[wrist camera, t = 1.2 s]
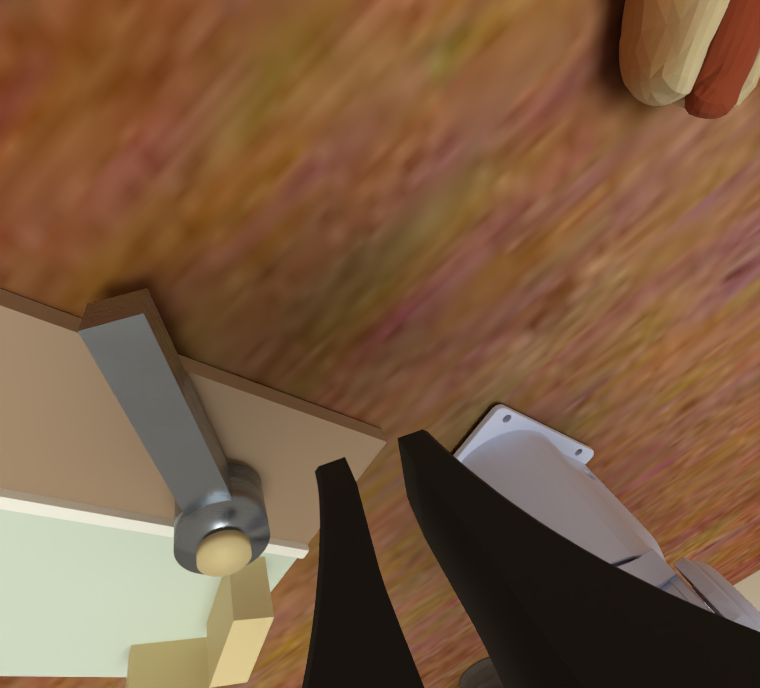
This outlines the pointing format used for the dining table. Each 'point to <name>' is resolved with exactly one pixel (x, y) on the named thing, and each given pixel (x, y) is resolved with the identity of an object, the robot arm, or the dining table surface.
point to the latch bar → (173, 425)
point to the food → (691, 53)
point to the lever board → (140, 516)
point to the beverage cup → (481, 676)
